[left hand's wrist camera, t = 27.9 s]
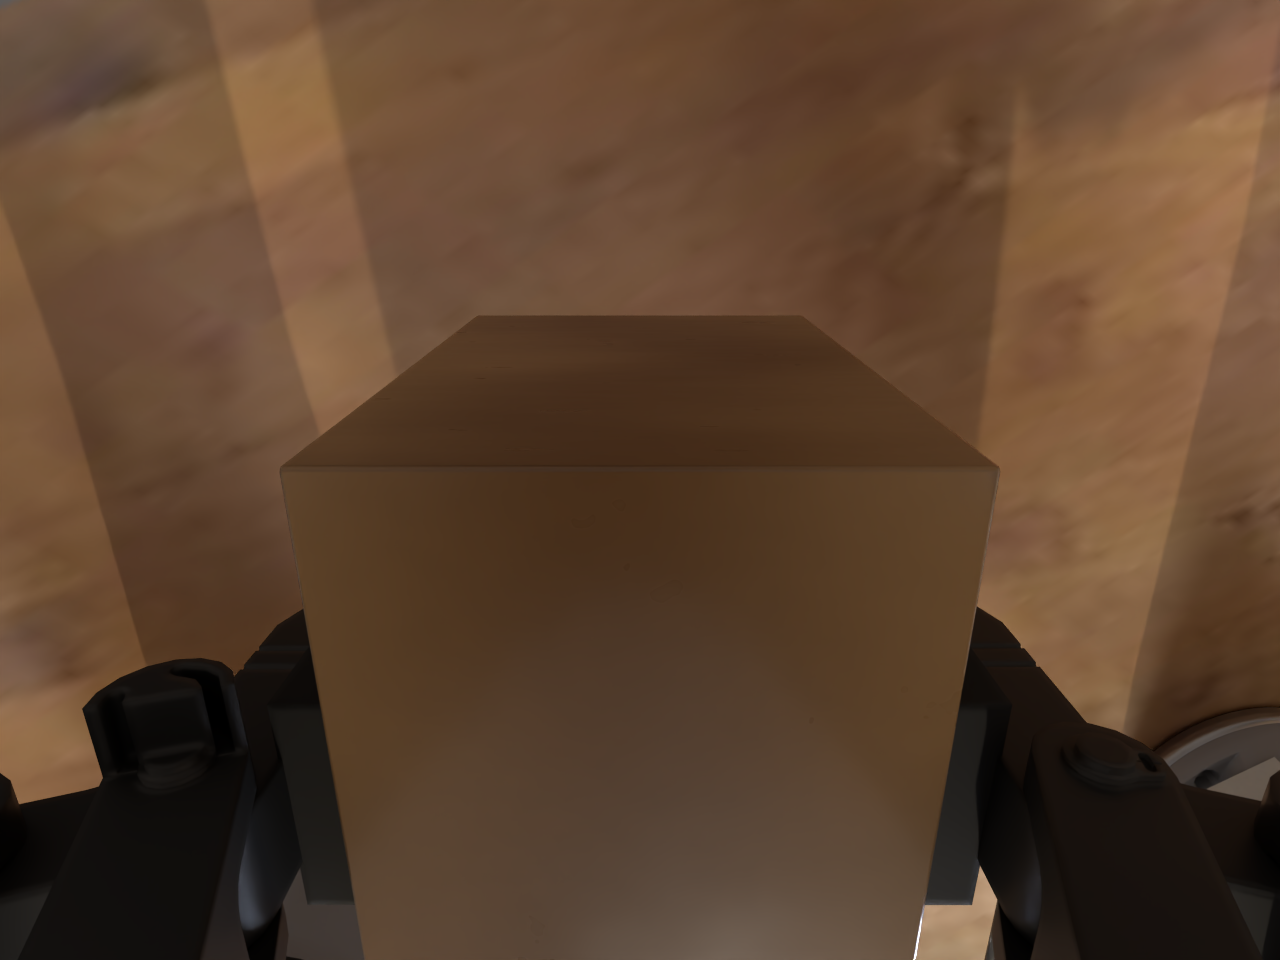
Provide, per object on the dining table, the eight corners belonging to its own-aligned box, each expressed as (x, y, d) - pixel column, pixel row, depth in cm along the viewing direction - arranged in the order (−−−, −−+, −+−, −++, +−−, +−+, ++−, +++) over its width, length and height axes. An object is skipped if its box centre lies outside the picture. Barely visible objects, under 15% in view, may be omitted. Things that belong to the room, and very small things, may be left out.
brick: (802, 315, 14) (1003, 466, 6) (775, 681, 17) (892, 1099, 9) (476, 315, 14) (276, 466, 6) (503, 681, 17) (386, 1100, 9)
